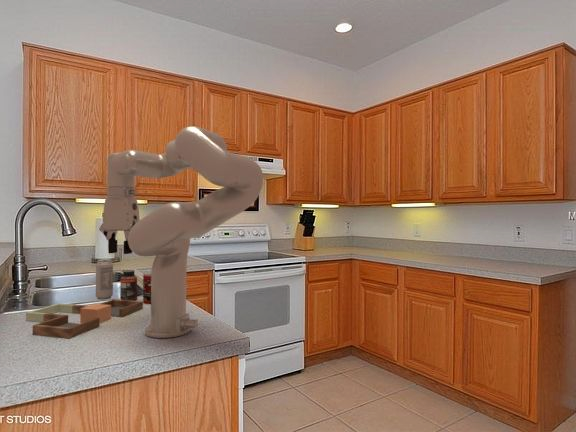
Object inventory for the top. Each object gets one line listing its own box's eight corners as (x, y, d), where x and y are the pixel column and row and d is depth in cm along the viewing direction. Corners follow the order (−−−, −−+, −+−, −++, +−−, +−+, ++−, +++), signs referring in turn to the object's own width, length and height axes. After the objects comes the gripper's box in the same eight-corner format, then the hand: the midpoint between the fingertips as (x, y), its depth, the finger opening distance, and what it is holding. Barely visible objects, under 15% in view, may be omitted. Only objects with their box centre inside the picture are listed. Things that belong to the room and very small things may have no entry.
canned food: (139, 301, 138) (140, 272, 138) (160, 298, 144) (160, 270, 144) (147, 305, 133) (148, 275, 133) (168, 302, 138) (169, 273, 138)
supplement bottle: (132, 297, 145) (132, 269, 145) (140, 299, 141) (140, 270, 141) (117, 300, 140) (117, 270, 140) (125, 302, 137) (125, 272, 137)
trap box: (142, 308, 128) (142, 301, 128) (69, 338, 97) (69, 329, 97) (81, 303, 134) (81, 297, 134) (-7, 330, 103) (-7, 321, 103)
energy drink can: (110, 295, 147) (110, 258, 147) (114, 298, 143) (115, 260, 143) (93, 297, 143) (94, 259, 143) (98, 300, 139) (98, 261, 139)
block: (111, 319, 116) (111, 305, 116) (97, 324, 110) (97, 309, 110) (94, 317, 117) (95, 303, 117) (80, 323, 111) (80, 308, 111)
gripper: (152, 194, 113) (152, 253, 114) (105, 194, 117) (105, 251, 117) (137, 193, 106) (137, 255, 106) (88, 193, 110) (87, 253, 110)
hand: (120, 252), depth 112 cm, fingers open, 4 cm apart
